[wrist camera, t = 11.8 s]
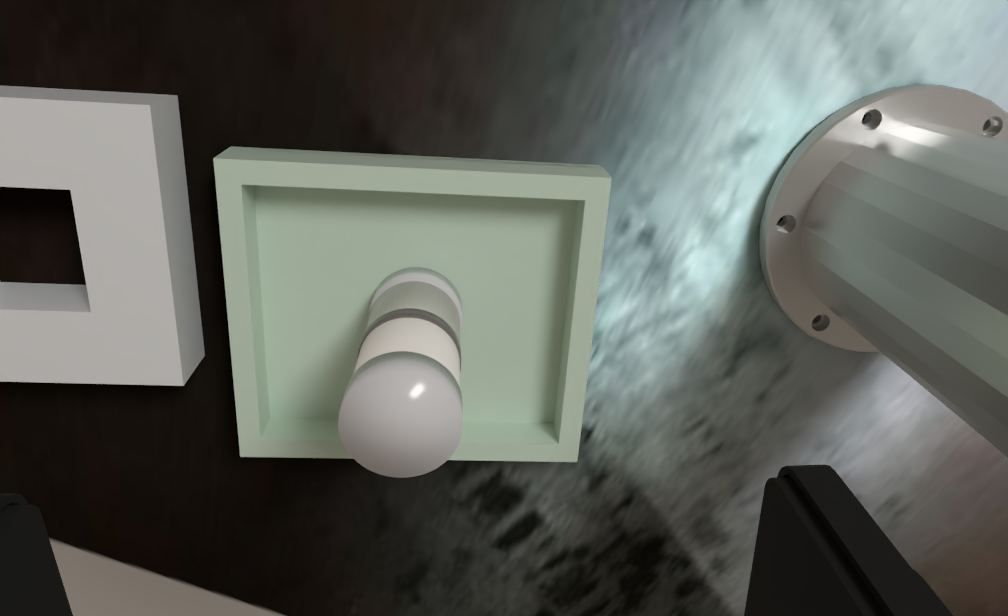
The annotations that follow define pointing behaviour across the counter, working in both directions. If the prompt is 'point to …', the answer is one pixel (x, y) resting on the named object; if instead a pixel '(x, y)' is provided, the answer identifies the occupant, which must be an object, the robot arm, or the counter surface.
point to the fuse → (406, 377)
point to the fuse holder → (104, 240)
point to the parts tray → (403, 244)
